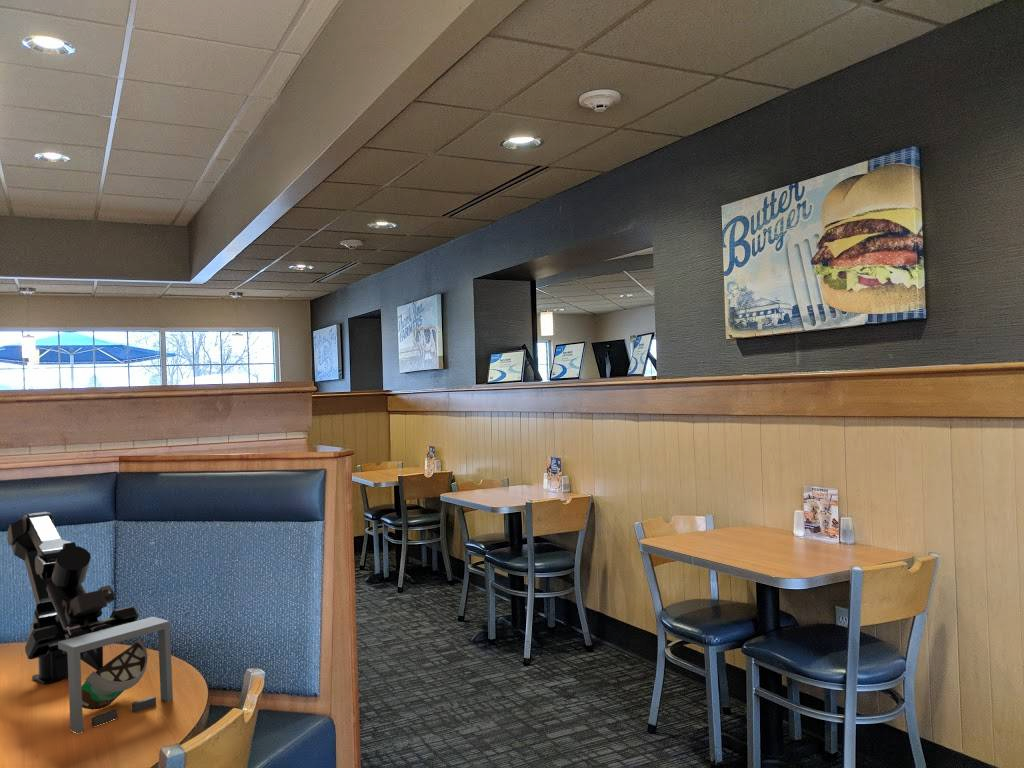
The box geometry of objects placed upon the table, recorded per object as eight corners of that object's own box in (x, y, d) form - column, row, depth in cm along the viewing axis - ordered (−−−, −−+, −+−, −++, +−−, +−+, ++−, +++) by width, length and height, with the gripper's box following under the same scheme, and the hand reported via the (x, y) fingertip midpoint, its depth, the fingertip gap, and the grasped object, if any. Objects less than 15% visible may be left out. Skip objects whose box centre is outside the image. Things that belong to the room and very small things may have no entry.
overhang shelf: (61, 726, 136) (57, 641, 136) (156, 693, 150) (153, 616, 150) (77, 734, 132) (73, 647, 132) (172, 700, 146) (169, 621, 146)
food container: (88, 729, 139) (115, 698, 136) (64, 704, 139) (90, 672, 136) (138, 690, 151) (164, 660, 147) (116, 667, 151) (141, 636, 148)
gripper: (28, 585, 141) (58, 657, 134) (131, 564, 156) (163, 628, 149) (13, 623, 146) (40, 694, 139) (114, 599, 160) (144, 663, 154)
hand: (100, 668), depth 145 cm, fingers closed
